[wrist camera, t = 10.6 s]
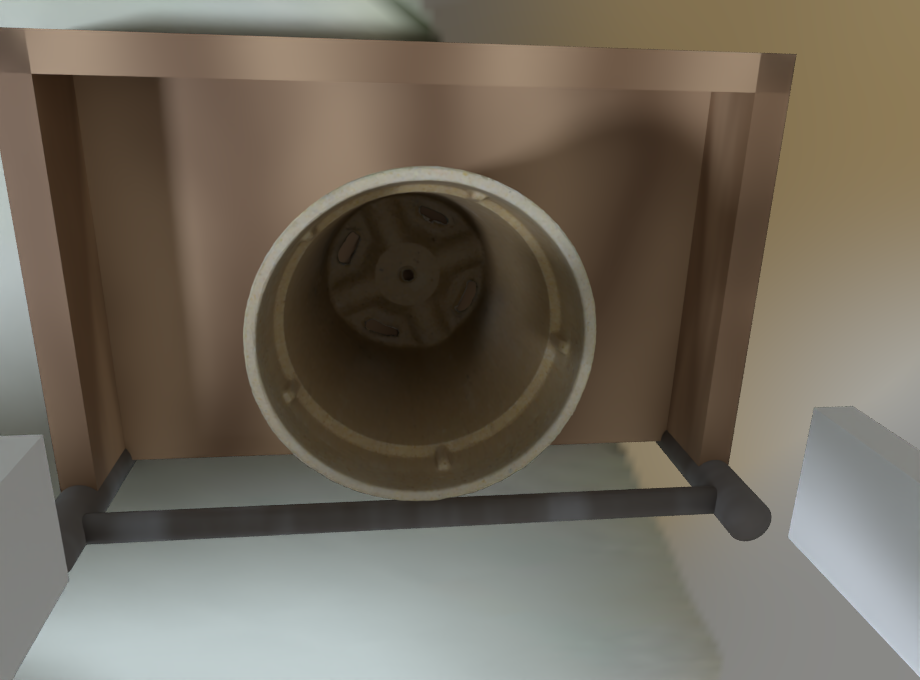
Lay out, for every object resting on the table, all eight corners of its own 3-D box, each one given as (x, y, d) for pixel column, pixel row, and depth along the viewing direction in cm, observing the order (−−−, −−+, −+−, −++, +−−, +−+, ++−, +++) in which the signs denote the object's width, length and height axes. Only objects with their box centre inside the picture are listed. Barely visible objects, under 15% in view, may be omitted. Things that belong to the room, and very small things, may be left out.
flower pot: (269, 138, 25) (226, 165, 17) (536, 140, 27) (612, 167, 19) (286, 388, 29) (256, 510, 20) (524, 380, 30) (584, 493, 22)
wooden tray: (98, 469, 30) (24, 580, 23) (31, 34, 24) (-92, 18, 18) (686, 447, 33) (767, 539, 26) (742, 57, 27) (861, 51, 21)
